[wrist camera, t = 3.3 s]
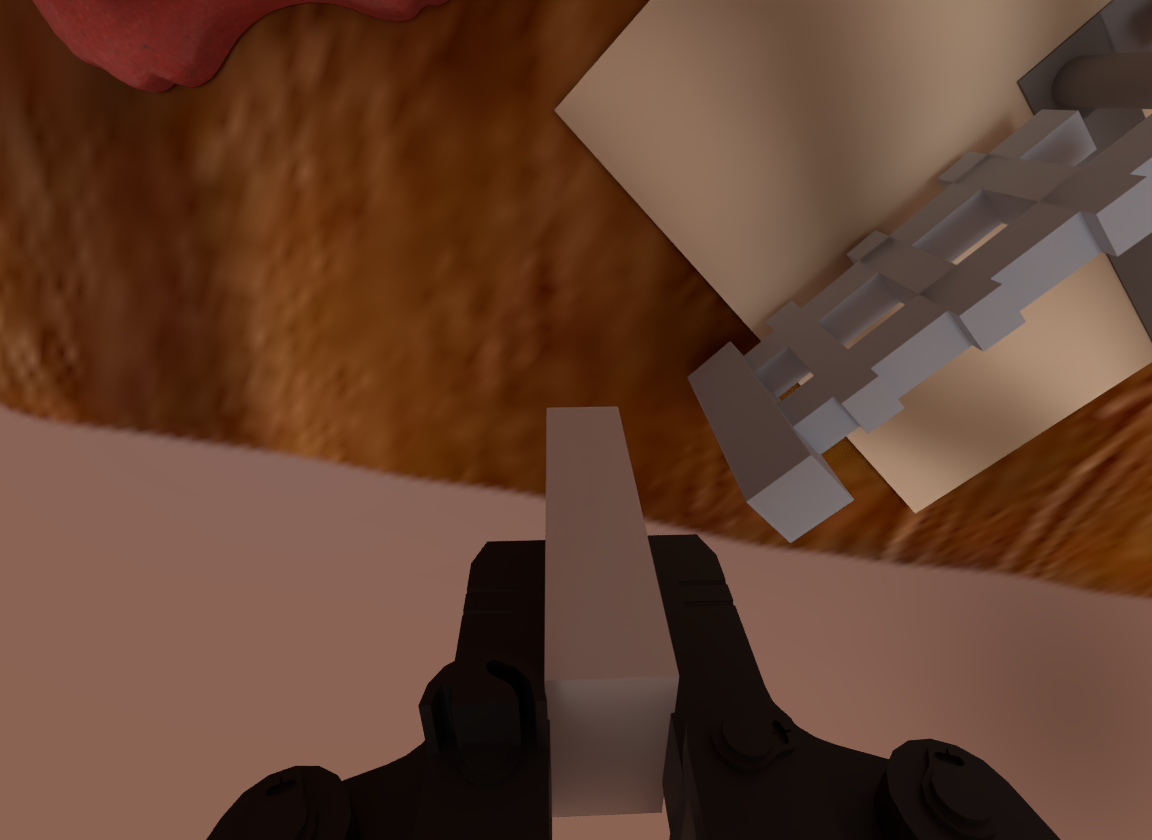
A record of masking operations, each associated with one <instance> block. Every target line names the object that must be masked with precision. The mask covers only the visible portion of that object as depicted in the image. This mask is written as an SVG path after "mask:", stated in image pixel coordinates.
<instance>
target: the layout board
mask: <svg viewBox="0 0 1152 840" xmlns="http://www.w3.org/2000/svg"><path fill="white" fill-rule="evenodd" d="M1148 51H1152V0H649V1H648V2H647V4H646V5H645V6H644V7H643V8H642V9H641V11H640V12H639V13H638V14H637V15H636V16H635V17H634V19H633V20H632V21H631V22H630V23H629V24H628V25H627V27H626V28H625V29H624V30H623V31H622V32H621V34H620V35H619V36H618V37H617V38H616V39H615V40H614V42H613V43H612V44H611V45H610V46H609V47H608V48H607V50H606V51H605V52H604V53H603V54H602V55H601V56H600V58H599V59H598V60H597V61H596V62H595V63H594V65H593V66H592V67H591V68H590V69H589V70H588V71H587V73H586V74H585V75H584V76H583V77H582V78H581V79H580V81H579V82H578V83H577V84H576V85H575V86H574V87H573V89H572V90H571V91H570V92H569V93H568V94H567V96H566V97H565V98H564V99H563V100H562V101H561V102H560V104H559V105H558V106H557V107H556V108H555V109H554V111H555V112H556V113H557V114H558V115H559V116H560V118H561V119H562V120H563V121H564V122H565V123H566V124H567V125H568V127H569V128H570V129H571V130H572V131H573V132H574V133H575V134H576V135H577V137H578V138H579V139H580V140H581V141H582V142H583V143H584V144H585V145H586V147H587V148H588V149H589V150H590V151H591V152H592V153H593V154H594V156H595V157H596V158H597V159H598V160H599V161H600V162H601V163H602V164H603V166H604V167H605V168H606V169H607V170H608V171H609V172H610V173H611V174H612V176H613V177H614V178H615V179H616V180H617V181H618V182H619V183H620V185H621V186H622V187H623V188H624V189H625V190H626V191H627V192H628V193H629V195H630V196H631V197H632V198H633V199H634V200H635V201H636V202H637V203H638V205H639V206H640V207H641V208H642V209H643V210H644V211H645V212H646V214H647V215H648V216H649V217H650V218H651V219H652V220H653V221H654V222H655V224H656V225H657V226H658V227H659V228H660V229H661V230H662V231H663V232H664V234H665V235H666V236H667V237H668V238H669V239H670V240H671V241H672V243H673V244H674V245H675V246H676V247H677V248H678V249H679V250H680V251H681V253H682V254H683V255H684V256H685V257H686V258H687V259H688V260H689V261H690V263H691V264H692V265H693V266H694V267H695V268H696V269H697V270H698V272H699V273H700V274H701V275H702V276H703V277H704V278H705V279H706V280H707V282H708V283H709V284H710V285H711V286H712V287H713V288H714V289H715V290H716V292H717V293H718V294H719V295H720V296H721V297H722V298H723V299H724V301H725V302H726V303H727V304H728V305H729V306H730V307H731V308H732V309H733V311H734V312H735V313H736V314H737V315H738V316H739V317H740V318H741V319H742V321H743V322H744V323H745V324H746V325H747V326H748V327H749V328H750V330H751V331H752V332H753V333H754V334H755V335H756V336H757V337H758V338H759V340H760V341H762V340H764V339H765V338H766V337H767V336H768V335H770V334H771V333H772V332H773V330H772V329H771V328H770V326H769V325H768V324H767V323H766V321H767V320H769V319H770V318H771V317H772V316H773V315H775V314H776V313H777V312H778V311H779V310H781V309H782V308H783V307H784V306H785V305H787V304H788V303H789V302H790V301H791V300H792V301H793V302H794V303H795V304H796V305H798V306H799V307H800V308H802V307H803V306H805V305H806V304H807V303H808V302H810V301H811V300H812V299H813V298H814V297H816V296H817V295H818V294H819V293H820V292H822V291H823V290H824V289H825V288H826V287H828V286H829V285H830V284H831V283H833V282H834V281H835V280H836V279H837V278H839V277H840V276H841V275H842V274H843V273H845V272H846V271H847V270H848V269H849V268H851V267H852V266H853V265H854V264H853V262H852V261H851V260H850V258H849V257H848V256H847V253H849V252H850V251H851V250H852V249H853V248H855V247H856V246H857V245H858V244H859V243H861V242H862V241H863V240H864V239H865V238H867V237H868V236H869V235H870V234H871V233H872V232H874V231H875V230H876V231H879V232H881V233H883V234H886V235H888V236H889V235H891V234H892V233H893V232H894V231H895V230H897V229H898V228H899V227H900V226H901V225H903V224H904V223H905V222H906V221H908V220H909V219H910V218H911V217H912V216H914V215H915V214H916V213H917V212H918V211H920V210H921V209H922V208H923V207H924V206H926V205H927V204H928V203H929V202H930V201H932V200H933V199H934V198H935V197H937V196H938V195H939V194H940V193H941V192H943V191H944V190H943V188H942V186H941V185H940V183H939V182H938V180H937V178H938V177H939V176H941V175H942V174H943V173H944V172H945V171H947V170H948V169H949V168H950V167H951V166H952V165H954V164H955V163H956V162H957V161H958V160H960V159H961V158H962V157H963V156H964V155H966V154H967V153H968V152H976V153H983V154H989V153H990V152H991V151H992V150H993V149H995V148H996V147H997V146H998V145H999V144H1001V143H1002V142H1003V141H1004V140H1005V139H1007V138H1008V137H1009V136H1010V135H1012V134H1013V133H1014V132H1015V131H1016V130H1018V129H1019V128H1020V127H1021V126H1022V125H1024V124H1025V123H1026V122H1027V121H1028V120H1030V119H1031V118H1032V117H1033V116H1035V115H1036V114H1037V113H1038V112H1039V111H1041V110H1042V109H1045V110H1074V111H1079V113H1080V115H1081V117H1082V119H1083V122H1084V124H1085V126H1086V128H1087V130H1088V132H1089V134H1090V136H1091V138H1092V140H1093V142H1094V144H1095V146H1096V148H1097V150H1095V151H1094V152H1093V153H1091V154H1090V155H1089V156H1088V157H1086V158H1085V159H1084V160H1082V161H1081V162H1080V163H1079V164H1077V165H1076V166H1075V167H1084V166H1085V165H1086V164H1087V163H1089V162H1090V161H1091V160H1093V159H1094V158H1095V157H1097V156H1098V155H1099V154H1100V153H1102V152H1103V151H1104V150H1106V149H1107V148H1108V147H1109V146H1111V145H1112V144H1113V143H1115V142H1116V141H1117V140H1118V139H1120V138H1121V137H1122V136H1124V135H1125V134H1126V133H1127V132H1129V131H1130V130H1131V129H1133V128H1134V127H1135V126H1137V125H1138V124H1139V123H1140V122H1142V121H1143V120H1144V119H1146V118H1147V117H1148V116H1149V115H1151V114H1152V109H1119V108H1082V107H1062V106H1059V105H1057V104H1056V103H1055V102H1054V100H1053V98H1052V92H1051V91H1052V84H1053V81H1054V79H1055V77H1056V75H1057V73H1058V72H1059V70H1060V69H1061V68H1062V67H1063V66H1064V65H1065V64H1066V63H1067V62H1069V61H1070V60H1072V59H1074V58H1076V57H1080V56H1090V55H1105V54H1119V53H1133V52H1148ZM1006 226H1008V225H1007V224H1003V223H1002V224H1000V225H999V226H998V227H996V228H995V229H994V230H993V231H991V232H990V233H989V234H987V235H986V236H985V237H984V238H982V239H981V240H980V241H978V242H977V243H976V244H975V245H973V246H972V247H971V248H969V249H968V250H967V251H966V252H964V253H963V254H962V255H960V256H959V257H958V258H957V259H955V260H954V261H953V262H952V263H954V264H956V265H957V264H959V263H960V262H961V261H962V260H964V259H965V258H966V257H968V256H969V255H970V254H971V253H973V252H974V251H975V250H977V249H978V248H979V247H980V246H982V245H983V244H984V243H986V242H987V241H988V240H989V239H991V238H992V237H993V236H995V235H996V234H997V233H999V232H1000V231H1001V230H1002V229H1004V228H1005V227H1006ZM904 305H905V304H903V303H901V302H900V303H899V304H898V305H896V306H895V307H894V308H892V309H891V310H890V311H889V312H887V313H886V314H885V315H883V316H882V317H881V318H880V319H878V320H877V321H876V322H874V323H873V324H872V325H871V326H869V327H868V328H867V329H866V330H864V331H863V332H862V333H860V334H859V335H858V336H857V337H855V338H854V339H853V340H851V341H850V342H849V343H848V344H846V345H845V347H846V348H847V349H849V348H850V347H851V346H853V345H854V344H855V343H857V342H858V341H859V340H860V339H862V338H863V337H864V336H866V335H867V334H868V333H870V332H871V331H872V330H873V329H875V328H876V327H877V326H879V325H880V324H881V323H882V322H884V321H885V320H886V319H888V318H889V317H890V316H891V315H893V314H894V313H895V312H897V311H898V310H899V309H900V308H902V307H903V306H904ZM1020 313H1021V314H1022V316H1023V318H1024V319H1025V321H1026V322H1025V323H1024V324H1022V325H1021V326H1019V327H1018V328H1017V329H1015V330H1014V331H1012V332H1011V333H1010V334H1008V335H1007V336H1005V337H1004V338H1002V339H1001V340H1000V341H998V342H997V343H995V344H994V345H993V346H991V347H990V348H988V349H987V350H986V351H984V352H983V351H981V350H980V349H978V348H976V347H975V346H973V345H972V346H971V347H969V348H968V349H967V350H965V351H964V352H962V353H961V354H960V355H958V356H957V357H955V358H954V359H953V360H951V361H950V362H949V363H947V364H946V365H944V366H943V367H942V368H940V369H939V370H937V371H936V372H935V373H933V374H932V375H930V376H929V377H928V378H926V379H925V380H924V381H922V382H921V383H919V384H918V385H917V386H915V387H914V388H912V389H911V390H910V391H908V392H907V393H905V394H904V395H903V396H901V397H900V398H899V399H898V400H899V401H900V403H901V404H902V405H903V406H904V409H903V410H901V411H900V412H898V413H897V414H896V415H894V416H893V417H891V418H890V419H889V420H887V421H886V422H884V423H883V424H882V425H880V426H879V427H877V428H876V429H875V430H873V431H872V432H870V433H869V434H867V432H866V431H865V430H864V429H863V428H862V427H861V426H860V427H858V428H857V429H855V430H854V431H853V432H851V433H850V434H849V435H847V436H846V437H847V438H848V439H849V440H850V441H851V442H852V443H853V444H854V446H855V447H856V448H857V449H858V450H859V451H860V452H861V453H862V454H863V456H864V457H865V458H866V459H867V460H868V461H869V462H870V463H871V465H872V466H873V467H874V468H875V469H876V470H877V471H878V472H879V473H880V475H881V476H882V477H883V478H884V479H885V480H886V481H887V482H888V483H889V485H890V486H891V487H892V488H893V489H894V490H895V491H896V492H897V494H898V495H899V496H900V497H901V498H902V499H903V500H904V501H905V502H906V504H907V505H908V506H909V507H910V508H911V509H912V510H913V511H914V512H915V513H917V512H918V511H920V510H922V509H923V508H925V507H926V506H928V505H929V504H931V503H933V502H934V501H936V500H937V499H939V498H940V497H942V496H943V495H945V494H947V493H948V492H950V491H951V490H953V489H954V488H956V487H957V486H959V485H961V484H962V483H964V482H965V481H967V480H968V479H970V478H972V477H973V476H975V475H976V474H978V473H979V472H981V471H982V470H984V469H986V468H987V467H989V466H990V465H992V464H993V463H995V462H996V461H998V460H1000V459H1001V458H1003V457H1004V456H1006V455H1007V454H1009V453H1011V452H1012V451H1014V450H1015V449H1017V448H1018V447H1020V446H1021V445H1023V444H1025V443H1026V442H1028V441H1029V440H1031V439H1032V438H1034V437H1035V436H1037V435H1039V434H1040V433H1042V432H1043V431H1045V430H1046V429H1048V428H1050V427H1051V426H1053V425H1054V424H1056V423H1057V422H1059V421H1060V420H1062V419H1064V418H1065V417H1067V416H1068V415H1070V414H1071V413H1073V412H1074V411H1076V410H1078V409H1079V408H1081V407H1082V406H1084V405H1085V404H1087V403H1089V402H1090V401H1092V400H1093V399H1095V398H1096V397H1098V396H1099V395H1101V394H1103V393H1104V392H1106V391H1107V390H1109V389H1110V388H1112V387H1113V386H1115V385H1117V384H1118V383H1120V382H1121V381H1123V380H1124V379H1126V378H1128V377H1129V376H1131V375H1132V374H1134V373H1135V372H1137V371H1138V370H1140V369H1142V368H1143V367H1145V366H1146V365H1148V364H1149V363H1151V362H1152V233H1150V234H1149V235H1147V236H1146V237H1145V238H1143V239H1142V240H1140V241H1139V242H1137V243H1136V244H1135V245H1133V246H1132V247H1130V248H1129V249H1128V250H1126V251H1125V252H1123V253H1122V254H1121V255H1119V256H1118V257H1117V256H1114V255H1110V254H1107V253H1104V252H1101V253H1100V254H1099V255H1097V256H1096V257H1094V258H1093V259H1092V260H1090V261H1089V262H1087V263H1086V264H1085V265H1083V266H1082V267H1080V268H1079V269H1078V270H1076V271H1075V272H1074V273H1072V274H1071V275H1069V276H1068V277H1067V278H1065V279H1064V280H1062V281H1061V282H1060V283H1058V284H1057V285H1055V286H1054V287H1053V288H1051V289H1050V290H1049V291H1047V292H1046V293H1044V294H1043V295H1042V296H1040V297H1039V298H1037V299H1036V300H1035V301H1033V302H1032V303H1030V304H1029V305H1028V306H1026V307H1025V308H1024V309H1022V310H1021V311H1020ZM813 376H814V375H813V374H812V373H811V372H810V373H809V374H808V375H806V376H805V377H804V378H803V379H801V380H800V381H799V382H798V383H799V384H800V385H802V384H804V383H805V382H806V381H808V380H809V379H810V378H811V377H813Z"/></svg>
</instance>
